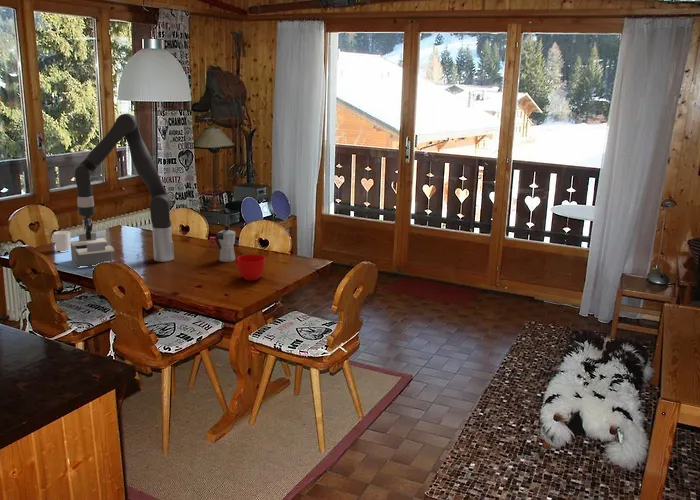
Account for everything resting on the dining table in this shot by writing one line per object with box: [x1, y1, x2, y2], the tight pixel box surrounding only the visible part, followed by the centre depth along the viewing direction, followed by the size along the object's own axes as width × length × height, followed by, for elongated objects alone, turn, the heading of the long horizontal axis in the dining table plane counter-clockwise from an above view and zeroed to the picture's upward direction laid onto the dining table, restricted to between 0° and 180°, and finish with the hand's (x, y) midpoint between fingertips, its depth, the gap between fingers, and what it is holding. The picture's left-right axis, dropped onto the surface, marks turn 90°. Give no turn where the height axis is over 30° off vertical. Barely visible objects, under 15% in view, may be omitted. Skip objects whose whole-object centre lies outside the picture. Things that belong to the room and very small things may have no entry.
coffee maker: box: [214, 225, 236, 263], centre depth 338 cm, size 15×9×18 cm, turn 149°
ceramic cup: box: [235, 253, 266, 281], centre depth 312 cm, size 13×17×10 cm
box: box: [70, 242, 113, 268], centre depth 329 cm, size 16×16×9 cm
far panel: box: [70, 232, 108, 246], centre depth 330 cm, size 16×8×4 cm, turn 121°
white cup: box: [53, 230, 71, 252], centre depth 347 cm, size 8×8×10 cm
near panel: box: [76, 242, 115, 255], centre depth 317 cm, size 16×8×4 cm, turn 121°
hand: (88, 239), depth 329 cm, fingers closed
